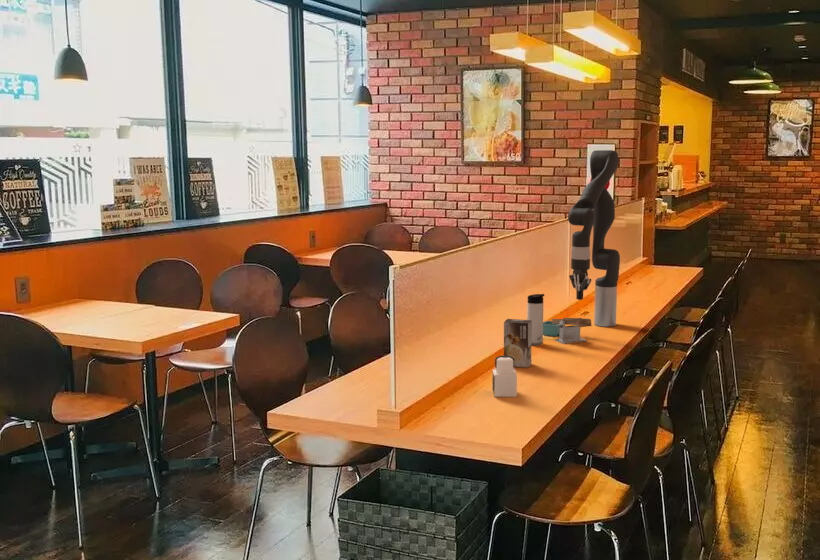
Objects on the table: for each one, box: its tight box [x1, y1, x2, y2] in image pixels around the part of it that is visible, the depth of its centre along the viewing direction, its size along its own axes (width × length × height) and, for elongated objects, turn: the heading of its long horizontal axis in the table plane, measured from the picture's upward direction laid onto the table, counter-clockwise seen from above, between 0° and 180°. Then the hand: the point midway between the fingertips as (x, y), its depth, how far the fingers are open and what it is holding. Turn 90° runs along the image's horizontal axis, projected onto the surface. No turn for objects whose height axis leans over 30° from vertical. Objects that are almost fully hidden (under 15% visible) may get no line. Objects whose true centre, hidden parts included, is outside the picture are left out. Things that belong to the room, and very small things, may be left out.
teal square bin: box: [543, 320, 560, 338], centre depth 355 cm, size 8×8×5 cm
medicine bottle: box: [492, 355, 518, 398], centre depth 270 cm, size 7×7×12 cm
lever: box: [551, 317, 592, 328], centre depth 343 cm, size 13×19×3 cm
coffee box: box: [503, 318, 532, 368], centre depth 305 cm, size 9×6×16 cm
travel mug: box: [526, 293, 545, 347], centre depth 336 cm, size 6×7×20 cm
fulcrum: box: [554, 320, 587, 345], centre depth 342 cm, size 11×6×8 cm, turn 113°
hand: (579, 299), depth 350 cm, fingers closed
